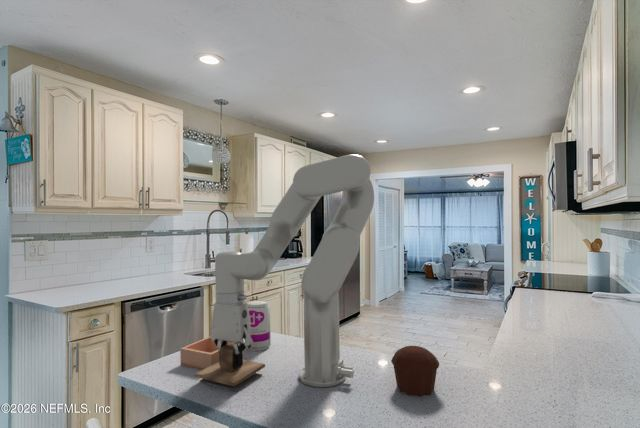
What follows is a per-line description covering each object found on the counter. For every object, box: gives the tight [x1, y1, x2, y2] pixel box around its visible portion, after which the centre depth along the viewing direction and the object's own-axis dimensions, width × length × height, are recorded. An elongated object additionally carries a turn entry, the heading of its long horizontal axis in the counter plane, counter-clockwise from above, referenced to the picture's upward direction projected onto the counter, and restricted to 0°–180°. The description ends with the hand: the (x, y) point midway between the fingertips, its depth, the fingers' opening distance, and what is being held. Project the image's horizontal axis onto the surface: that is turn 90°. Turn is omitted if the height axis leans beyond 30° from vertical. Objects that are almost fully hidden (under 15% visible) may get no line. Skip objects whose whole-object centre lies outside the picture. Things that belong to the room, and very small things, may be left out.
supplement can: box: [245, 299, 272, 352], centre depth 125 cm, size 8×8×15 cm
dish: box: [179, 336, 239, 371], centre depth 113 cm, size 12×12×5 cm
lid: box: [194, 343, 266, 386], centre depth 100 cm, size 13×13×7 cm
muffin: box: [390, 345, 440, 398], centre depth 93 cm, size 12×11×10 cm
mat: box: [199, 372, 263, 392], centre depth 100 cm, size 13×10×1 cm
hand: (231, 365), depth 100 cm, fingers closed on lid, 4 cm apart
